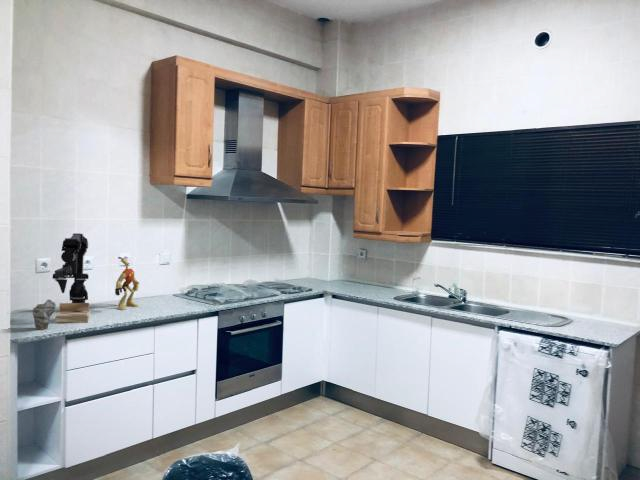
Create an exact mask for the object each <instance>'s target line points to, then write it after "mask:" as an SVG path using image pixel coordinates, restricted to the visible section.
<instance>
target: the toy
mask: <svg viewBox="0 0 640 480" xmlns="http://www.w3.org/2000/svg"><path fill="white" fill-rule="evenodd" d="M117 259H118V260H119V259H120V262H121V263H122V264H123V265H124V266H125V269H124V270H123V271H122V272H121V273H120V276H119V277H118V278H117V281H116V283H115V289H114V290H115V291H114V293H115V296H120V294H122V292H124V295H123V296H122V298H121V299H120V300H119V302H118V305H117V308H118V310H120V311H122V310H123V311H124V310H127V307H134V308H135V307H140V305H139V304H137V303H135V302H134V301H133V298H134V295H135V292H137V291H139V287H140V282H139V281H138V280H137V279H136V277H135V275H136V272H135V271H134V269H133V268H129V265H130V263H129V262H128V260H127V259H126V257H121V256H118V257H117ZM122 282H123V284H122ZM130 284H132V285H133V287H131V286H130ZM128 291H129V292H130V294H129V295H128ZM127 296H128V297H127ZM125 302H126V303H125Z"/></svg>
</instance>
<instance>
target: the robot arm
mask: <svg viewBox="0 0 640 480" xmlns="http://www.w3.org/2000/svg"><path fill="white" fill-rule="evenodd" d="M61 246H62V247H61V252H62V253H61V255H60V257H61V260H62V261H63V262H64V264H62V267H61V268H57V269H56V270H54V273H53V274H52V279H53V280H54V281H55V282H57V283H58V286H59V287H60V291H61V293H62V294H65V292H66V287H67V282H68V279H73V282H72V284H71V285H70V289H69V292H68V293H69V301H71V303H86V301H87V300H89V295H88V294H89V292H88V291H87V289H86V288H87V287H86V285H85V284H84V283H85V282H86V281H87V280H89V274H88V273H84V259H85V255H86V253H87V252H88V249H89V241H88V238H86V237H85V236H84V234H83V233H75V232H74V233H72V236H71V237H66V238H64V240H63V241H62V245H61ZM74 312H81V311H74Z"/></svg>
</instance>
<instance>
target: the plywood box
mask: <svg viewBox="0 0 640 480" xmlns="http://www.w3.org/2000/svg"><path fill="white" fill-rule="evenodd" d="M90 313H91V312H90V311H80V312H75V311H59V312H57V314H56V315H55V321H54V324H81V323H83V324H85V323H89V321H90V317H91V316H90Z"/></svg>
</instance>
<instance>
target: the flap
mask: <svg viewBox="0 0 640 480" xmlns="http://www.w3.org/2000/svg"><path fill="white" fill-rule="evenodd" d="M89 309H90V302H85V303H72V302H64V303H63V302H60V303H59V310H58V311H59V312H75V311H80V312H90V311H89Z"/></svg>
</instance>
